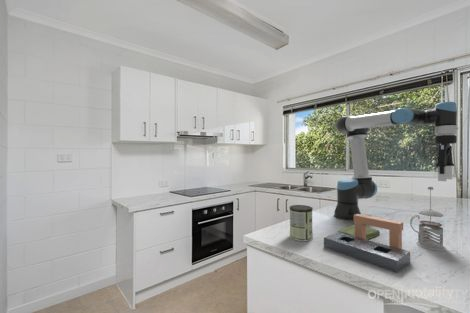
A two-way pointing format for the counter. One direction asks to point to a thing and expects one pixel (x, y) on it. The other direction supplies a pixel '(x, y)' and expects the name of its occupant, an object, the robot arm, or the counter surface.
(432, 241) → the french press
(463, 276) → the counter surface
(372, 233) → the washcloth
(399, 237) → the staple
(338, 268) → the counter surface
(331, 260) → the counter surface
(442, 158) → the robot arm
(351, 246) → the grey slotted base block
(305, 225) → the coffee can
